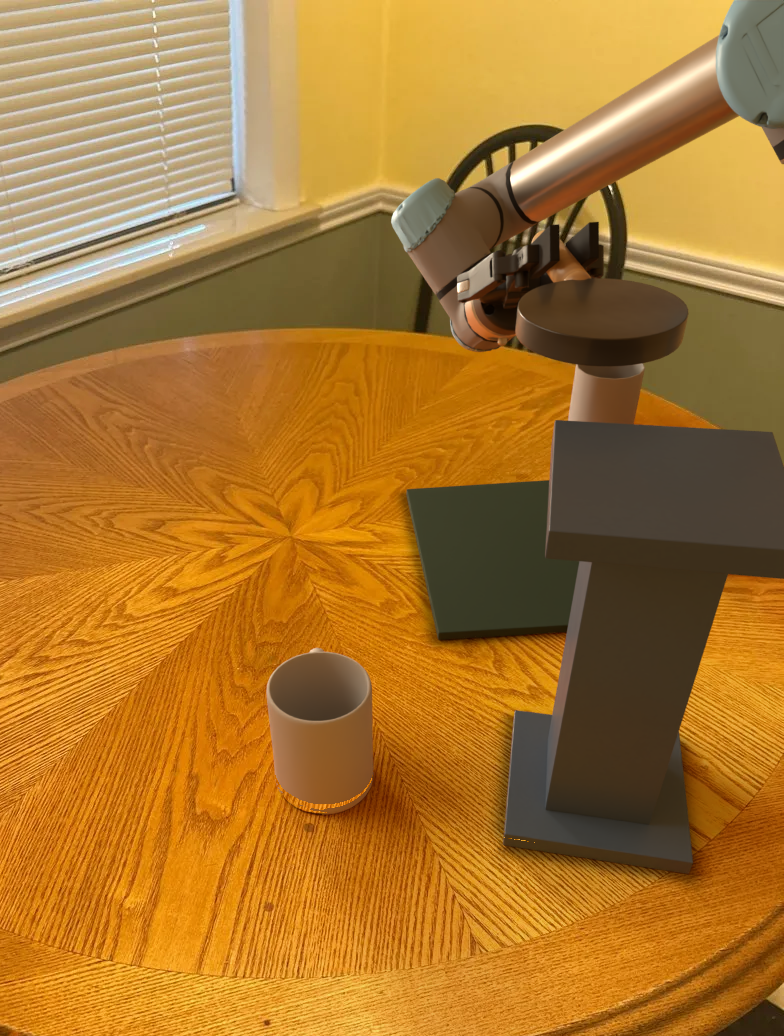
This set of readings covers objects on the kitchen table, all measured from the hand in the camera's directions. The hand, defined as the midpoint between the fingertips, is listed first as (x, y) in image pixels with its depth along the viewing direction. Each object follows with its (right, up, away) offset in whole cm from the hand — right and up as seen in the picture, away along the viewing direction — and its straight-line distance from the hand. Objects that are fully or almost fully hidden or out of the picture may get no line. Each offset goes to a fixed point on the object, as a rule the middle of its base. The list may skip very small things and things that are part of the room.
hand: (574, 241), depth 71 cm
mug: (-20, -43, +8) cm, 48 cm away
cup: (+18, -4, +50) cm, 54 cm away
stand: (+3, -44, +4) cm, 45 cm away
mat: (+1, -22, +30) cm, 37 cm away
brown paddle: (0, -5, +1) cm, 5 cm away
